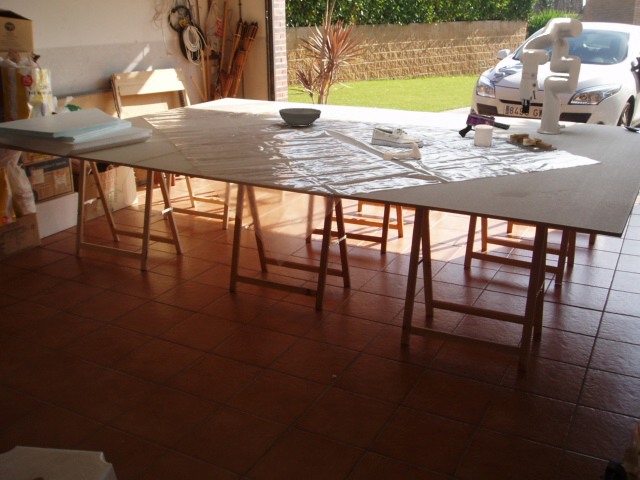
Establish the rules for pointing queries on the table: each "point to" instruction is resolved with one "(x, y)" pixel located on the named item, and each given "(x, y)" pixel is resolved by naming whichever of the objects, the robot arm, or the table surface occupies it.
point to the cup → (483, 135)
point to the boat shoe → (394, 138)
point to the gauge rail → (525, 136)
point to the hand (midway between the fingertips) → (525, 112)
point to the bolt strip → (529, 146)
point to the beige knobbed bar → (415, 154)
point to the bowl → (299, 115)
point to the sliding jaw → (531, 141)
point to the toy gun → (481, 123)
